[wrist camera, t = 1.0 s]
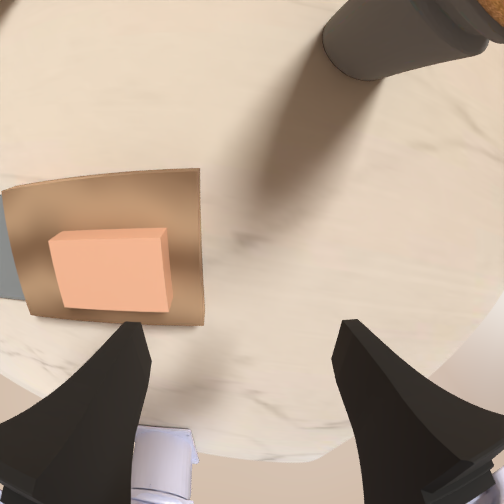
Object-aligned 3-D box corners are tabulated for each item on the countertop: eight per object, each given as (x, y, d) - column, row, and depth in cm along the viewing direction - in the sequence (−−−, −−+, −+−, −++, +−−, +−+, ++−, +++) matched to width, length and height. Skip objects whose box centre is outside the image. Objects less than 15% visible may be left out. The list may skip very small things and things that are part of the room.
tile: (166, 227, 18) (160, 238, 16) (173, 296, 20) (168, 312, 18) (62, 231, 17) (48, 240, 15) (75, 293, 19) (64, 307, 17)
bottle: (400, 79, 17) (568, 60, 3) (334, 85, 17) (511, 31, 3) (378, 14, 15) (515, -54, 1) (310, 15, 15) (426, -106, 1)
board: (204, 310, 23) (203, 325, 21) (40, 303, 21) (30, 315, 19) (199, 168, 18) (196, 171, 17) (15, 186, 17) (1, 191, 15)
